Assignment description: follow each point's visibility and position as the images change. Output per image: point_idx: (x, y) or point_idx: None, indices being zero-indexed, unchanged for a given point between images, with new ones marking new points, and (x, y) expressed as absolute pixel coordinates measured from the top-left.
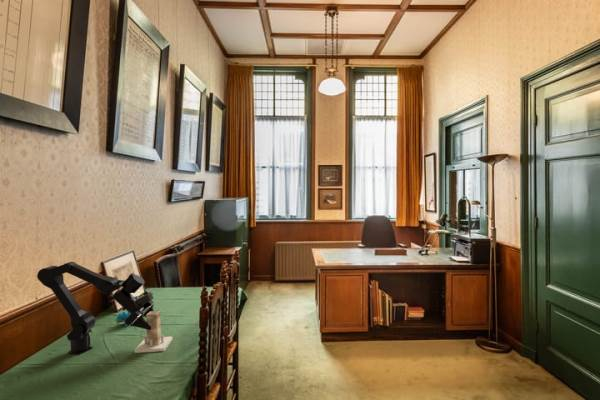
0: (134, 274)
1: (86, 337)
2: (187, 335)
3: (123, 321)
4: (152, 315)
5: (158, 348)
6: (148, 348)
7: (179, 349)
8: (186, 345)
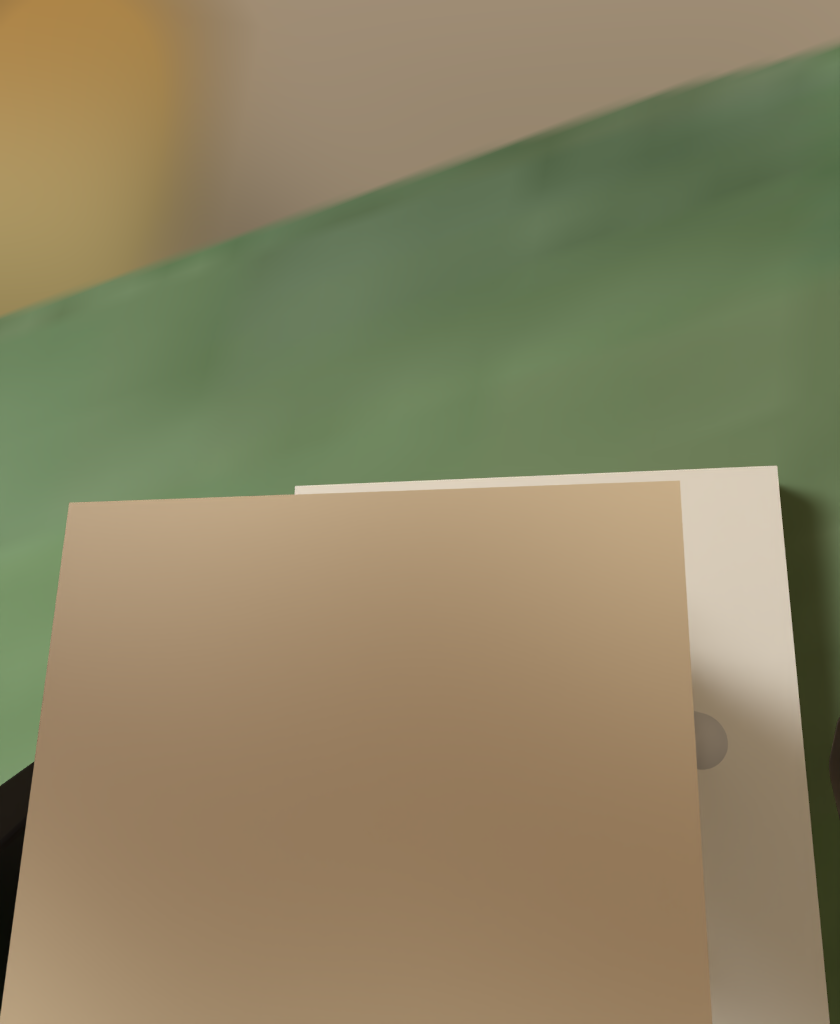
0: None
1: None
2: (227, 322)
3: None
4: (693, 776)
5: (785, 562)
6: (772, 758)
7: (723, 263)
8: (585, 215)
